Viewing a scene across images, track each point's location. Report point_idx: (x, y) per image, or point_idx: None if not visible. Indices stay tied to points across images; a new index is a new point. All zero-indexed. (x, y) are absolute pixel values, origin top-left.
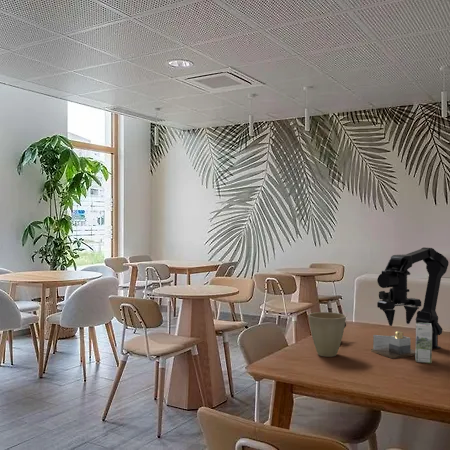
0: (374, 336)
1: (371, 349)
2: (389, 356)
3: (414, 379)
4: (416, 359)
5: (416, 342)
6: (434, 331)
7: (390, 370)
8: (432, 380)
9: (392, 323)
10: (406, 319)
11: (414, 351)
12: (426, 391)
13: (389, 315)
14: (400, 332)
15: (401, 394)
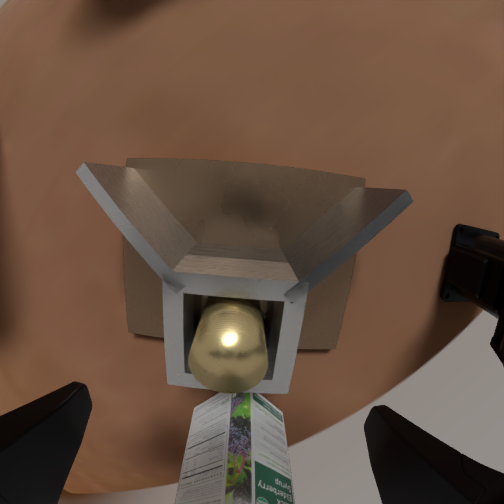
0: (85, 179)
1: (128, 159)
2: (129, 309)
3: (80, 453)
4: (193, 416)
5: (180, 476)
6: (498, 355)
7: None
8: (116, 475)
9: (82, 431)
10: (392, 440)
11: (318, 328)
12: (71, 475)
13: (4, 478)
14: (220, 383)
15: None
